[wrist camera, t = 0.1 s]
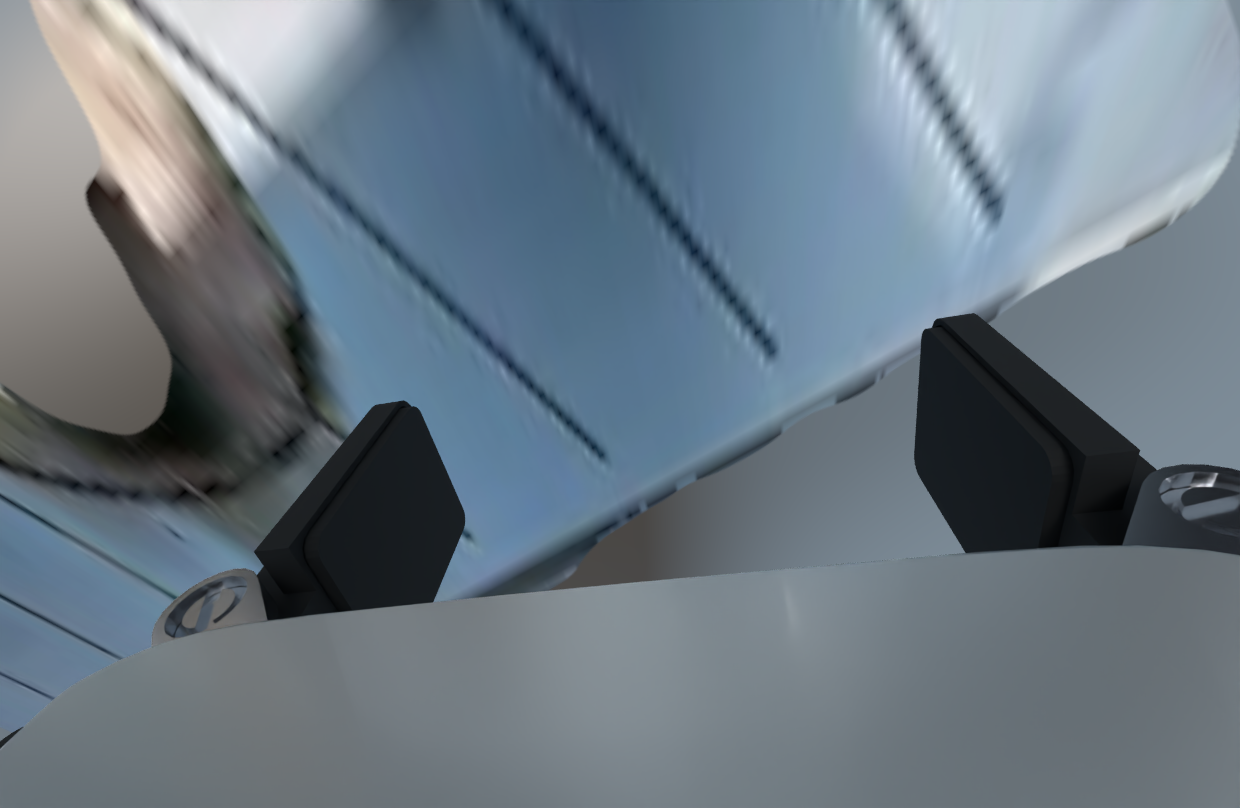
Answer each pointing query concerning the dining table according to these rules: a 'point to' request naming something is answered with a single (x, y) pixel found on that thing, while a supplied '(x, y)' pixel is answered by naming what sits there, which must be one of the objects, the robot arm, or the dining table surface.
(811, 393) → the dining table surface
